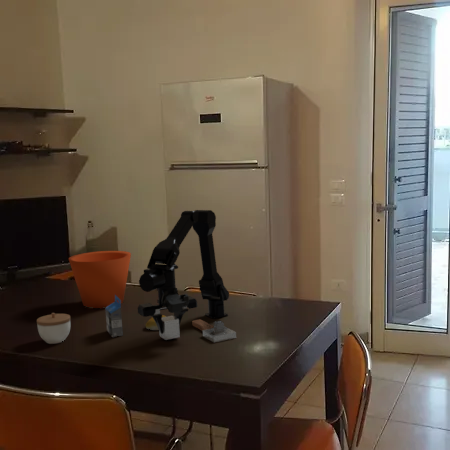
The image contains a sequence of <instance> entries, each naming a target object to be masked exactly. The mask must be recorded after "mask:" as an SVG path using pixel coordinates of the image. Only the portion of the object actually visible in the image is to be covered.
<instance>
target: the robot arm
mask: <svg viewBox="0 0 450 450" xmlns="http://www.w3.org/2000/svg"><path fill="white" fill-rule="evenodd" d="M216 219H217V216H216V214H215V212H214V211H213V210H211V209H195V210H184V211H181V214H180V218H179V219H178V220H177V222H176V223H175V225H174V227H173V228H172V229H171V231H170V232H169V234H168V236H167V237H166V238H165V239H163V240H161V241H159V242H158V243H157V244H156V246H155V247H154V248H153V250H152V253H151V256H150V257H149V261H148V264H147V267H146V269H143V274H141V275H140V277H139V280H138V285H139V287H140V289H141V290H142V291H144V292H146V293H148V292H152V291H155V290H156V292H157V294H158V295H157V296H158V297H157V298H158V299H156V302H157V303H158V304H152V303H150V302H147V303H140V304H139V305H138V306H137V314H139V315H141V316H142V317H144V318H146V317H153V319H154V320H155V322H156V324H157V326H158V329H159V330H158V331H160V333H161V334H163V326H162V315H163V314H162V313H161V311H163V310H167V311H168V312H169V313H170V314H173V316H174V317H176V318H178V319H179V327H180V326H181V322H182V319H183V316H184V315H185V313H186V312H189V310H191V309H196V308H198V301H197V300H198V299H196V298H195V297H192V296H191V295H188V293H185V294H179V290H178V288H177V287H176V285H177V284H176V270H177V269H179V265H178V264H176V262H177V260H178V258H179V255H180V247H181V244H183V242H184V241H185V239H186V237H187V236H188V234H189V232H190V230H191V229H193V231H194V232H195V233H196V235H197V236H198V241H199V243H198V244H199V249H200V256H201V265H202V277H201V278H200V279H199V280H198V284H199V291H200V293H201V298H202V300H207V306H208V307H207V308H208V309H207V311H208V312H206V313H204V314H205V316H207V317H208V318H210V319H216V318H222V317H227V316H229V314H228V313H227V312H225V301H228V299H230V298H229V297H230V292H229V291H228V289H227V288H226V286H225V285H224V280H223V278H222V276H221V275H220V274H219V272H218V269H217V262H216V252H215V246H214V245H215V244H214V237H213V233H214V231H215V228H216V225H217V223H216Z"/></svg>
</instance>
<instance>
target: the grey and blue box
mask: <svg viewBox="0 0 450 450" xmlns="http://www.w3.org/2000/svg"><path fill="white" fill-rule="evenodd" d="M117 300H118V301H119V303H118V302H117ZM104 311H105V321H106V332H108V334H109V335H110V337H112V338H116V337H117V336H119V337H123V336H124V335H123V321H122V318H123V317H122V304H121V300H120V299H119V298H118V297H117V296H116V295H115V302H114V303H112V304H110V305H109V306H107V307H106V308H104ZM117 338H118V337H117Z"/></svg>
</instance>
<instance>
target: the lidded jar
mask: <svg viewBox="0 0 450 450" xmlns="http://www.w3.org/2000/svg"><path fill="white" fill-rule="evenodd" d="M36 324H37V325H36V326H37V331H38V334H39V337H40V338H41V339H42V340H43V341H44V342H45V343H46V344H49V345H53V344H60V343H63V342H64V340H65V341H66V339H67V337H68V336H69V334H70V331H71V328H72V327H71V315H70V314H67V313H55V312H51V314H47V315H43V316H40V317H38V318H37V319H36ZM62 341H63V342H62Z"/></svg>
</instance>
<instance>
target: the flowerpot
mask: <svg viewBox="0 0 450 450" xmlns="http://www.w3.org/2000/svg"><path fill="white" fill-rule="evenodd" d="M131 257H132V253H131V252H129V251H123V250H102V251H101V250H99V251H90V252H89V251H88V252H84V253H79V254H74V255H71V256H70V257H68V262H69V265H70V267H71V271H72V274H73V276H74V280H75V283H76V287H77V290H78V292H79V295H80V299H81V302H82V305H83V307H84V306H87V307H93V308H100V309H104V308H103V307H107V306H109V305H110V304H112V303H114V302H115V295H116V296H117V297H118V298H119V299H120V300H121V303H122V304H123V303H124V301H125V300H124V299H125V293H126V286H127V280H128V275H129V268H130V264H131V263H130V262H131ZM117 302H118V303H119V301H118V300H117ZM93 308H92V309H93Z"/></svg>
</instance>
